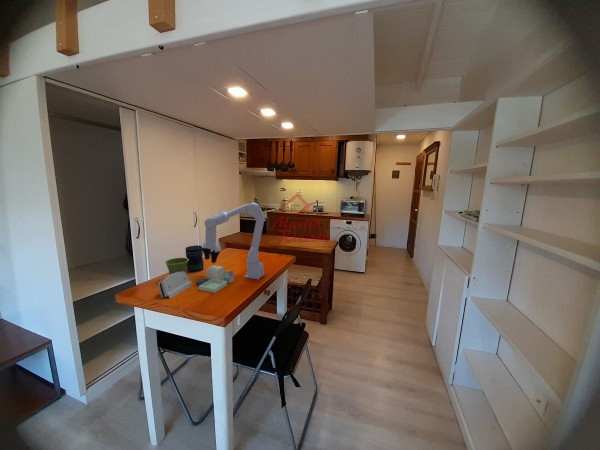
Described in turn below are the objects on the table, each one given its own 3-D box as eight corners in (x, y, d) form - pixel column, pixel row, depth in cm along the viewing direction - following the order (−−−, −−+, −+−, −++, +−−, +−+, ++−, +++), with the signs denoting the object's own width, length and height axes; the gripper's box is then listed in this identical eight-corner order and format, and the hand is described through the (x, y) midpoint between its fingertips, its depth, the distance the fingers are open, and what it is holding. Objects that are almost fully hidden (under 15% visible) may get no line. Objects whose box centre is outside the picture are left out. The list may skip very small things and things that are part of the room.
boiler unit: (224, 278, 131) (223, 266, 129) (217, 282, 125) (216, 270, 124) (212, 276, 133) (211, 265, 132) (205, 280, 127) (204, 268, 126)
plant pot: (174, 285, 120) (173, 265, 119) (162, 280, 126) (160, 261, 124) (194, 277, 131) (193, 259, 129) (182, 273, 136) (180, 256, 134)
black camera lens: (206, 267, 148) (205, 245, 145) (199, 272, 138) (198, 249, 136) (191, 267, 148) (190, 245, 145) (183, 272, 138) (182, 249, 136)
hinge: (169, 298, 106) (161, 279, 105) (162, 300, 107) (154, 281, 106) (193, 284, 122) (186, 267, 121) (186, 286, 123) (179, 269, 122)
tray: (227, 284, 121) (227, 281, 121) (214, 293, 112) (214, 289, 112) (212, 282, 125) (211, 278, 124) (198, 290, 115) (198, 286, 115)
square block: (209, 282, 125) (208, 278, 124) (204, 286, 120) (204, 282, 119) (200, 282, 125) (200, 278, 125) (195, 286, 120) (195, 282, 120)
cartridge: (233, 280, 127) (233, 270, 126) (229, 283, 123) (228, 272, 122) (227, 279, 128) (227, 269, 127) (223, 282, 125) (222, 271, 124)
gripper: (198, 236, 129) (197, 259, 131) (210, 241, 120) (210, 265, 122) (209, 235, 134) (209, 256, 137) (222, 240, 125) (221, 263, 127)
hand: (210, 261), depth 130 cm, fingers open, 7 cm apart
